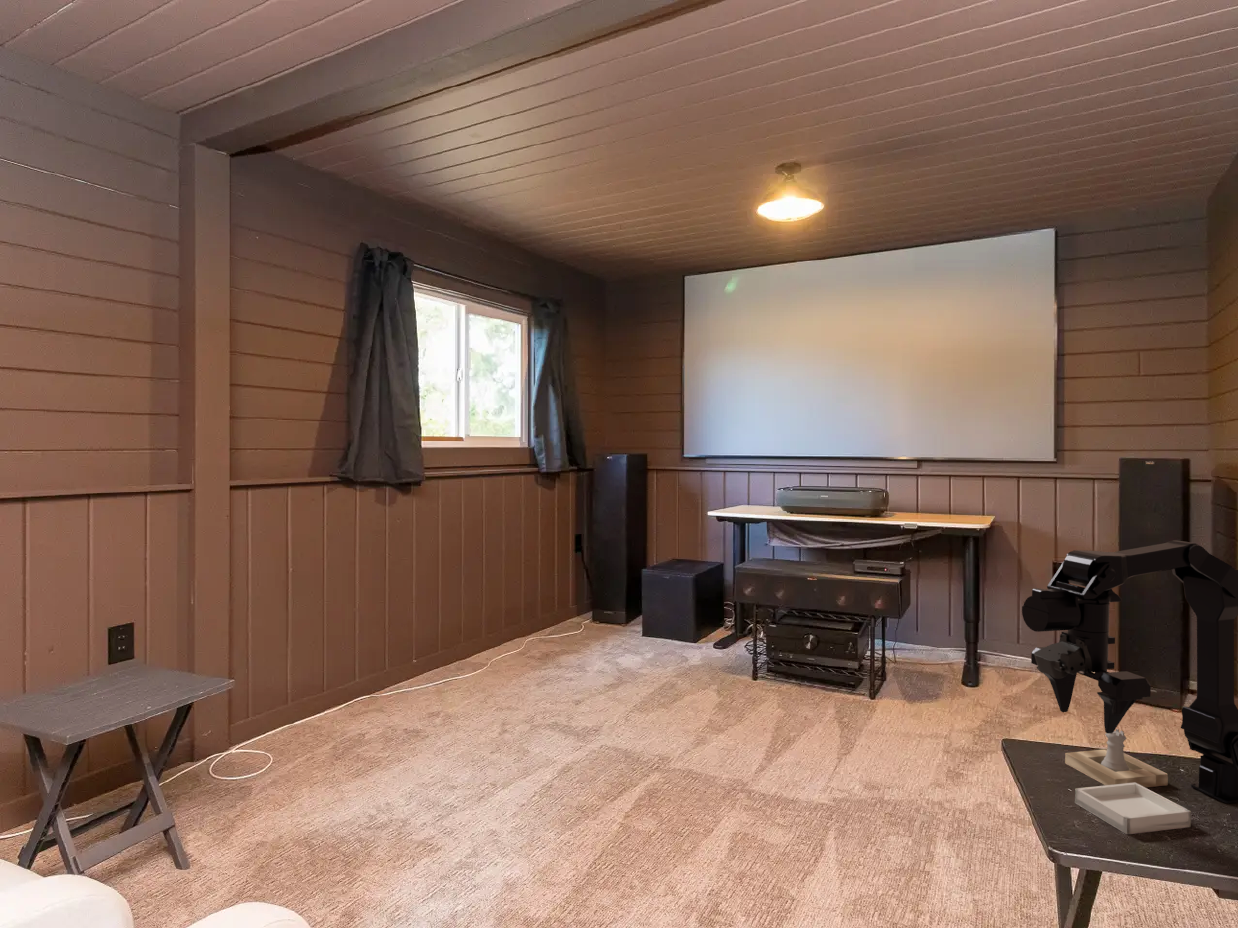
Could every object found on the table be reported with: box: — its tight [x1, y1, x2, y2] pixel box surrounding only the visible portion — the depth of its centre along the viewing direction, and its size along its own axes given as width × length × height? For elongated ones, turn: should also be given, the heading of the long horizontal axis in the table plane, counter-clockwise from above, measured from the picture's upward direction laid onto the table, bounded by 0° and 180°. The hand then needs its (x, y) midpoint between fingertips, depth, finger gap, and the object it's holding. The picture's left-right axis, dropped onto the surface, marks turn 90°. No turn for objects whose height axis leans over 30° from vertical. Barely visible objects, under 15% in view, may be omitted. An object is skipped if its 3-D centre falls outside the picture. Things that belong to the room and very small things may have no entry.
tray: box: [1074, 782, 1192, 835], centre depth 120 cm, size 12×10×2 cm
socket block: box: [1064, 748, 1169, 788], centre depth 135 cm, size 11×11×2 cm
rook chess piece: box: [1101, 728, 1129, 772], centre depth 135 cm, size 4×4×8 cm
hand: (1085, 721), depth 122 cm, fingers open, 9 cm apart
